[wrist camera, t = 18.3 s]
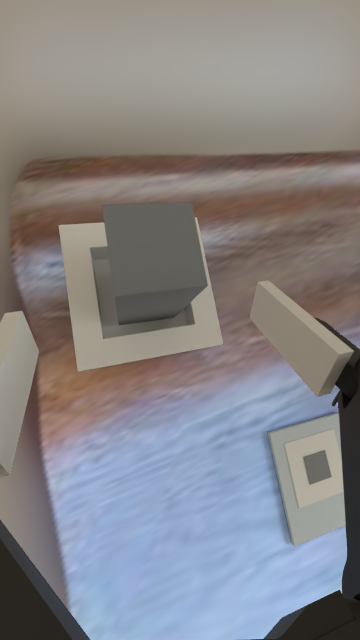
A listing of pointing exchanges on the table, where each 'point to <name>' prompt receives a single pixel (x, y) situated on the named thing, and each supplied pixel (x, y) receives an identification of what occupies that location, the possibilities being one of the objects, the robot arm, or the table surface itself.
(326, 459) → the card
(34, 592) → the robot arm
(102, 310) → the socket base
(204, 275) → the charcoal pillar
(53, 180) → the table surface
